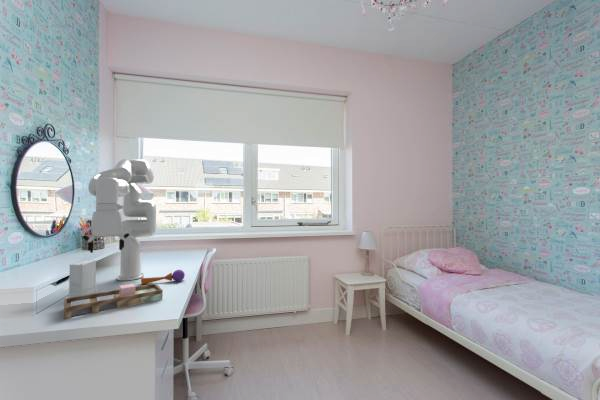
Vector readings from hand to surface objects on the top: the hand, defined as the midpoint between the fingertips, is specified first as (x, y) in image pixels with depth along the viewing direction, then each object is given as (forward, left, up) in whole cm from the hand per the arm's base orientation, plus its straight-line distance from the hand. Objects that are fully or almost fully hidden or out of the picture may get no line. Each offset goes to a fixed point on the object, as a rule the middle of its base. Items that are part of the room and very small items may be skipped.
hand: (106, 250), depth 110 cm
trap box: (0, +3, -22) cm, 22 cm away
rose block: (0, +7, -19) cm, 21 cm away
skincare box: (-21, -7, -22) cm, 31 cm away
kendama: (-20, +26, -22) cm, 40 cm away
